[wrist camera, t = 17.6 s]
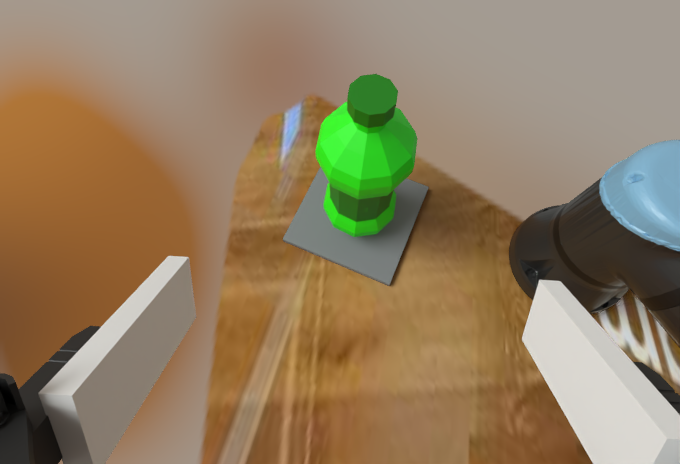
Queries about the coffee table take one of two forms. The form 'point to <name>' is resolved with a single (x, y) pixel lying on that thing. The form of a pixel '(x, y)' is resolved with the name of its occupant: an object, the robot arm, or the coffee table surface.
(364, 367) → the coffee table surface
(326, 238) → the rubber coaster
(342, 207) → the plastic bottle
